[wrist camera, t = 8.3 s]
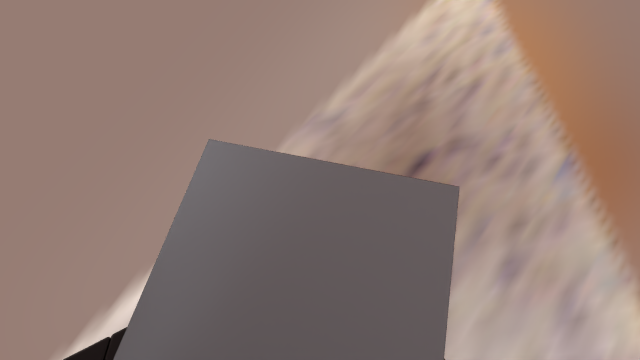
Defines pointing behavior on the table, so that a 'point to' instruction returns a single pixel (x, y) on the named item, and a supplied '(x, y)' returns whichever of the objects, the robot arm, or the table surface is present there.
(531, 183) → the table surface
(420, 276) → the gray rectangular block
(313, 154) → the table surface
